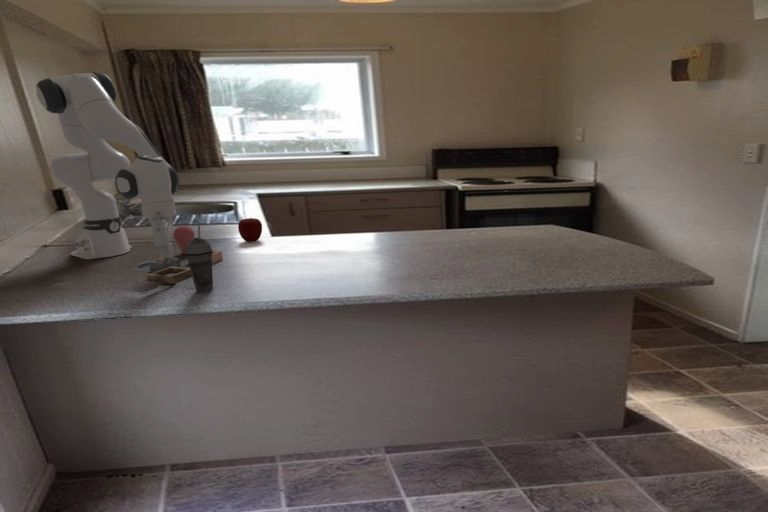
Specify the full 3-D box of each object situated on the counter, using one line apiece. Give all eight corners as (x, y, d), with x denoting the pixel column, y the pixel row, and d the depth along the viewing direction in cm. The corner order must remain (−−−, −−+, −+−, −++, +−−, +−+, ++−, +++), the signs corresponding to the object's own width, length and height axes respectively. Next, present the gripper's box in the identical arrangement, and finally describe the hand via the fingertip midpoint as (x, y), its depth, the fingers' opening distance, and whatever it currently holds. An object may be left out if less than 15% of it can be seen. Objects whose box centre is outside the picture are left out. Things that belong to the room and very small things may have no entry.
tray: (148, 283, 141) (147, 274, 141) (173, 274, 150) (171, 266, 149) (170, 286, 138) (169, 277, 137) (194, 277, 146) (193, 268, 145)
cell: (159, 263, 141) (156, 242, 140) (169, 260, 144) (166, 240, 143) (167, 264, 139) (163, 243, 138) (177, 261, 143) (174, 241, 141)
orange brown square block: (188, 267, 156) (186, 255, 155) (205, 261, 164) (204, 249, 162) (206, 270, 153) (204, 257, 152) (223, 263, 160) (221, 251, 159)
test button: (157, 266, 151) (155, 259, 150) (166, 263, 154) (164, 256, 154) (165, 267, 150) (163, 260, 149) (173, 264, 153) (172, 257, 152)
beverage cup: (195, 286, 137) (185, 221, 131) (220, 285, 137) (211, 219, 132) (187, 295, 130) (176, 226, 124) (214, 293, 130) (203, 224, 125)
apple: (260, 243, 187) (257, 219, 184) (236, 244, 187) (233, 220, 184) (266, 238, 196) (263, 215, 193) (244, 239, 196) (241, 216, 193)
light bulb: (190, 259, 167) (185, 227, 164) (173, 259, 168) (167, 227, 165) (201, 254, 174) (196, 223, 170) (184, 254, 175) (179, 223, 172)
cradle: (131, 273, 152) (129, 261, 151) (156, 265, 161) (154, 253, 160) (162, 277, 147) (159, 265, 146) (186, 268, 156) (184, 256, 154)
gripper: (168, 214, 129) (175, 261, 133) (173, 205, 148) (180, 246, 151) (143, 216, 127) (152, 264, 131) (151, 206, 146) (159, 248, 149)
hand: (167, 254), depth 141 cm, fingers closed on cell, 4 cm apart
